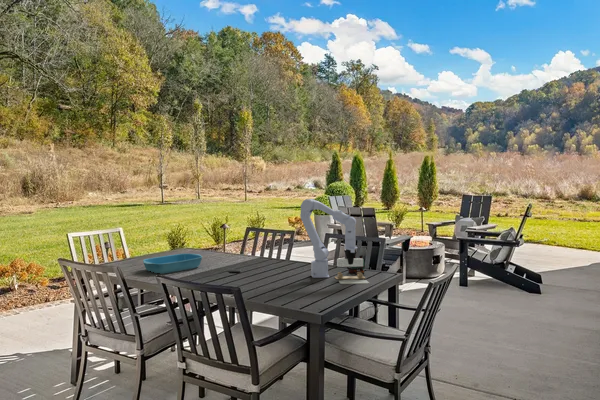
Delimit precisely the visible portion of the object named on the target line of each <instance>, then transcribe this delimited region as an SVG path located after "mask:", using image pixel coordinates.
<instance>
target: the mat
mask: <svg viewBox="0 0 600 400" xmlns="http://www.w3.org/2000/svg"><path fill="white" fill-rule="evenodd" d="M338 282H339V284H340V285H362V284H363V285H365V284H366V285H369V284H370V282H369V281H368V280H367V279H342V280H338Z"/></svg>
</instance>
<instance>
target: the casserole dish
mask: <svg viewBox="0 0 600 400" xmlns="http://www.w3.org/2000/svg"><path fill="white" fill-rule="evenodd" d="M202 259H203V255H201V254H198V253H188V252H187V253H176V254H169V255H163V256H154V257H149V258H144V259H142V262H143V265H144V268H145V269H146V271H148V272H149V271H151V272H150V273H153V272H154V273H153V274H157V273H160V275H163V274H171V273H177V272H182V271H188V270H192V269H196V268H198V267H199V266H200V265H201V262H202Z"/></svg>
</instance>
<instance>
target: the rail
mask: <svg viewBox="0 0 600 400" xmlns="http://www.w3.org/2000/svg"><path fill="white" fill-rule="evenodd" d="M363 259H364V258H363V257H362V258H360V257H356V258H354V261H353V264H348V258H346V257H345V258H336V267H339V268H342V267H343V268H344V267H346V268H347V267H349V268H350V267H358V266H363Z"/></svg>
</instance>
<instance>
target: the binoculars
mask: <svg viewBox="0 0 600 400" xmlns="http://www.w3.org/2000/svg"><path fill="white" fill-rule="evenodd" d="M363 256H364V255H363V254H361V255H359V257H358V258H362V259H363V266H358V267H346V269H347V270H348V274H355V275H357V272H361V274H363V273H365V268H366V264H365V259H364V257H363ZM354 258H357V255H355V257H354Z"/></svg>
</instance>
